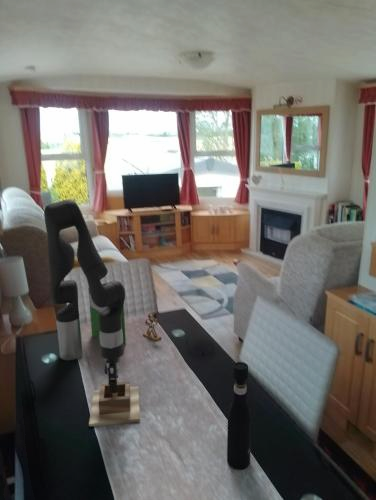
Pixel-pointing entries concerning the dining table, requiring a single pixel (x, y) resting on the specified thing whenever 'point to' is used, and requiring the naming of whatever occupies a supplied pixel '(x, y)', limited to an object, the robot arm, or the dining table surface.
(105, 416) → the socket board
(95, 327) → the hardback book
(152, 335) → the openwork figure ornament
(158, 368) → the dining table surface
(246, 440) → the wine bottle
